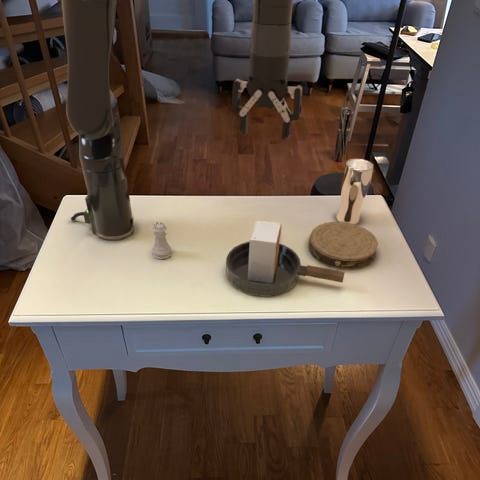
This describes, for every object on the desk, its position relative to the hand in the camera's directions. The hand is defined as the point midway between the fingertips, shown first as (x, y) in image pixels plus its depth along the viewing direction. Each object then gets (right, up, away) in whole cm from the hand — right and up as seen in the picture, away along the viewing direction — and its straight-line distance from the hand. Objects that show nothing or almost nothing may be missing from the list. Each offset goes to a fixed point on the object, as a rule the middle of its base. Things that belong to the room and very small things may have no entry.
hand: (264, 136), depth 96 cm
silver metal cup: (+23, -13, +23) cm, 35 cm away
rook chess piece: (-23, -24, +9) cm, 35 cm away
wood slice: (+19, -23, +12) cm, 32 cm away
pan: (0, -29, +4) cm, 29 cm away
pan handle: (+12, -30, +1) cm, 32 cm away
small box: (0, -29, +4) cm, 29 cm away
